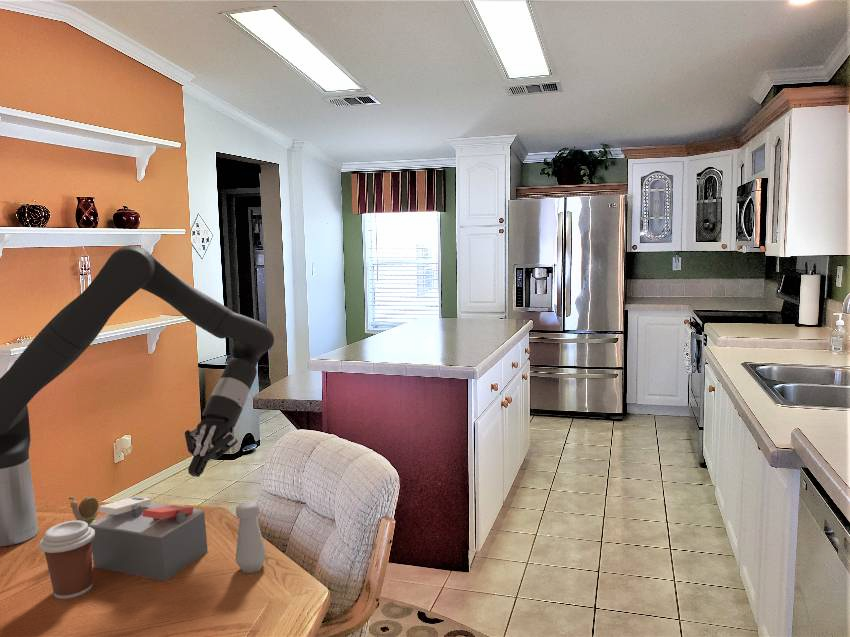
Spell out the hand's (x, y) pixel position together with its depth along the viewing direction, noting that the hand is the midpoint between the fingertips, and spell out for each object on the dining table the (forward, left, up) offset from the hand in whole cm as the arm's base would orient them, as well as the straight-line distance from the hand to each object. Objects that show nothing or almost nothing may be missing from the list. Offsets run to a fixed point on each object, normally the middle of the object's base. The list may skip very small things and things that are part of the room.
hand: (193, 475), depth 135 cm
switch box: (-6, -8, -15) cm, 18 cm away
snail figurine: (-24, -7, -16) cm, 29 cm away
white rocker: (-11, -8, -5) cm, 14 cm away
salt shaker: (+16, -5, -16) cm, 23 cm away
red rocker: (0, -8, -5) cm, 9 cm away
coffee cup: (-11, -21, -16) cm, 29 cm away
